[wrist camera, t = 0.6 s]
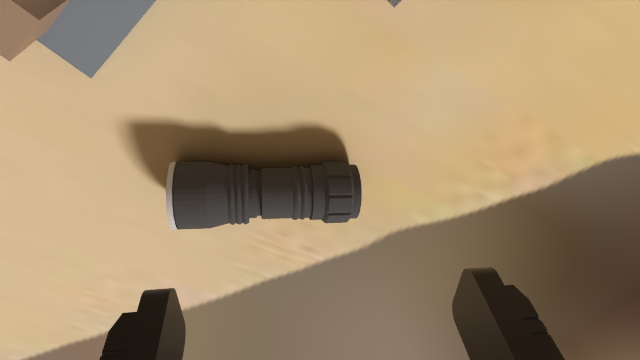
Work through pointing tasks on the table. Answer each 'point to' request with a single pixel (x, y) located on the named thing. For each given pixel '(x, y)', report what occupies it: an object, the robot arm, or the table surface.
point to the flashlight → (260, 193)
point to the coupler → (394, 2)
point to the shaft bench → (69, 28)
